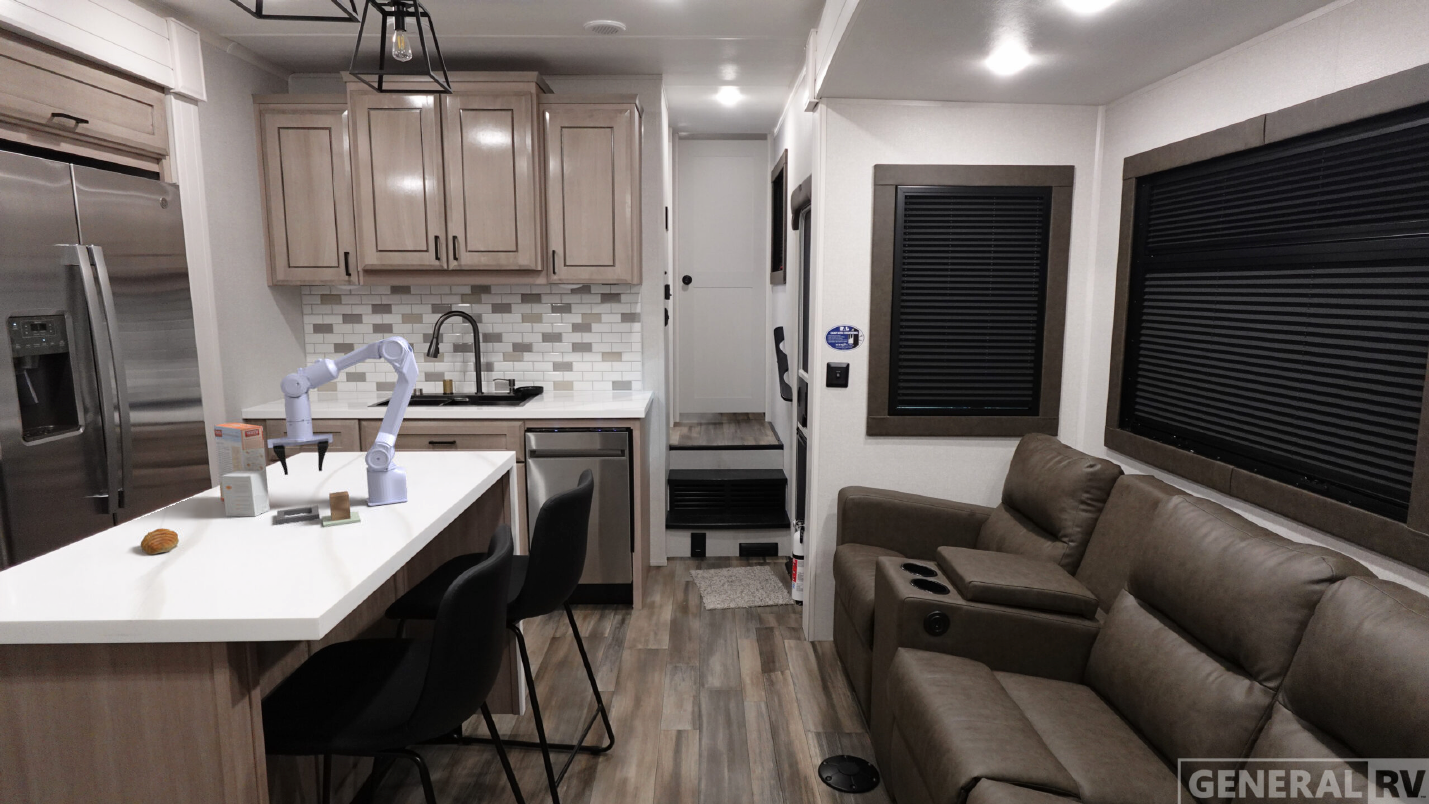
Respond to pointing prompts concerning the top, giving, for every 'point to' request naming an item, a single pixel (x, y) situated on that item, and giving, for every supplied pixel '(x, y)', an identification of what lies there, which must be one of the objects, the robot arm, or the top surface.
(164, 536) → the pastry
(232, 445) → the cracker box
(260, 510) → the small box
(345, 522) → the sage green board
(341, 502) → the walnut plug
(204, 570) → the top surface
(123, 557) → the top surface
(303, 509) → the collar
